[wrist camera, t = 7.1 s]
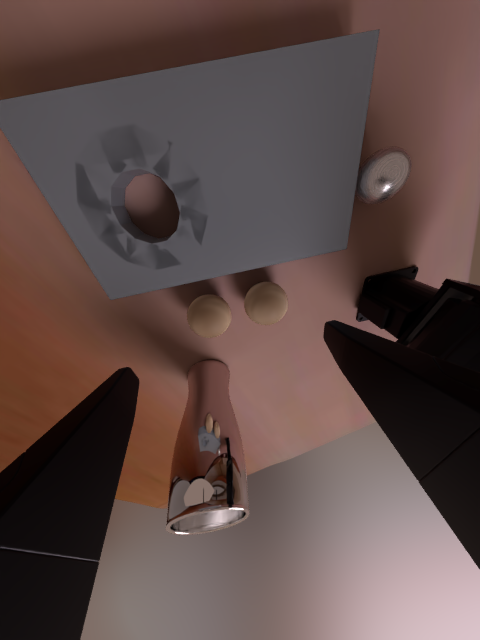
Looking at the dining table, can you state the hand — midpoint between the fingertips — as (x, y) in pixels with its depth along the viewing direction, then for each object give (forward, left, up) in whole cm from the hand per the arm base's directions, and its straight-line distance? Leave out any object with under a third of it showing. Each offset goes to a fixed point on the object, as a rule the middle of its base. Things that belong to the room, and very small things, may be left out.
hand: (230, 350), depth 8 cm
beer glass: (+5, +15, -13) cm, 20 cm away
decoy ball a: (-4, +4, -10) cm, 12 cm away
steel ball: (-14, -5, -10) cm, 18 cm away
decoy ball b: (+2, +4, -10) cm, 11 cm away
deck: (-1, -6, -12) cm, 14 cm away
